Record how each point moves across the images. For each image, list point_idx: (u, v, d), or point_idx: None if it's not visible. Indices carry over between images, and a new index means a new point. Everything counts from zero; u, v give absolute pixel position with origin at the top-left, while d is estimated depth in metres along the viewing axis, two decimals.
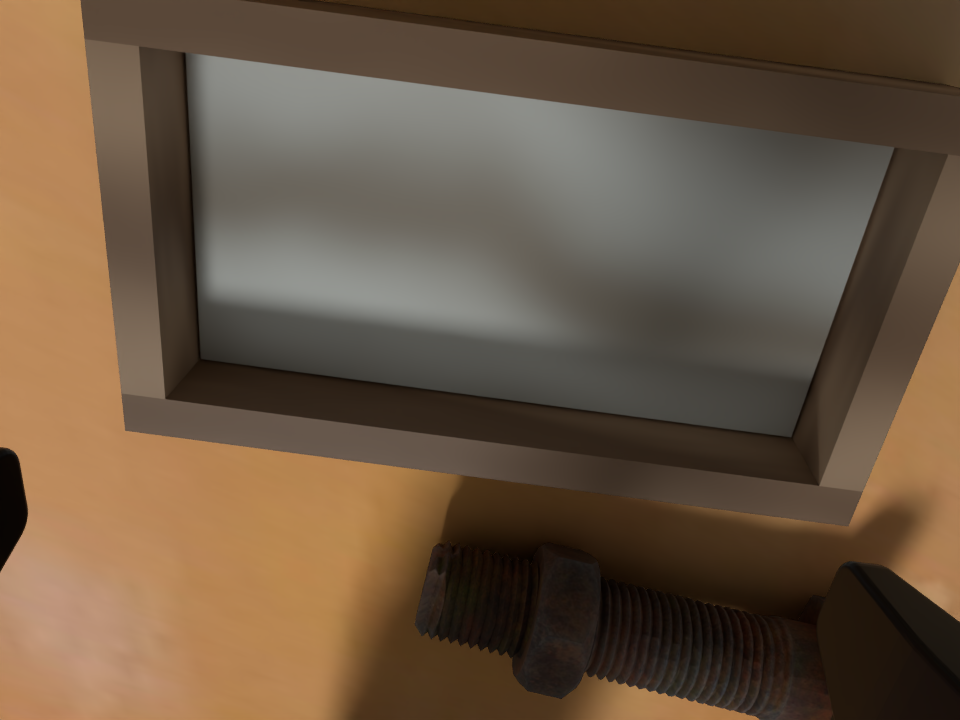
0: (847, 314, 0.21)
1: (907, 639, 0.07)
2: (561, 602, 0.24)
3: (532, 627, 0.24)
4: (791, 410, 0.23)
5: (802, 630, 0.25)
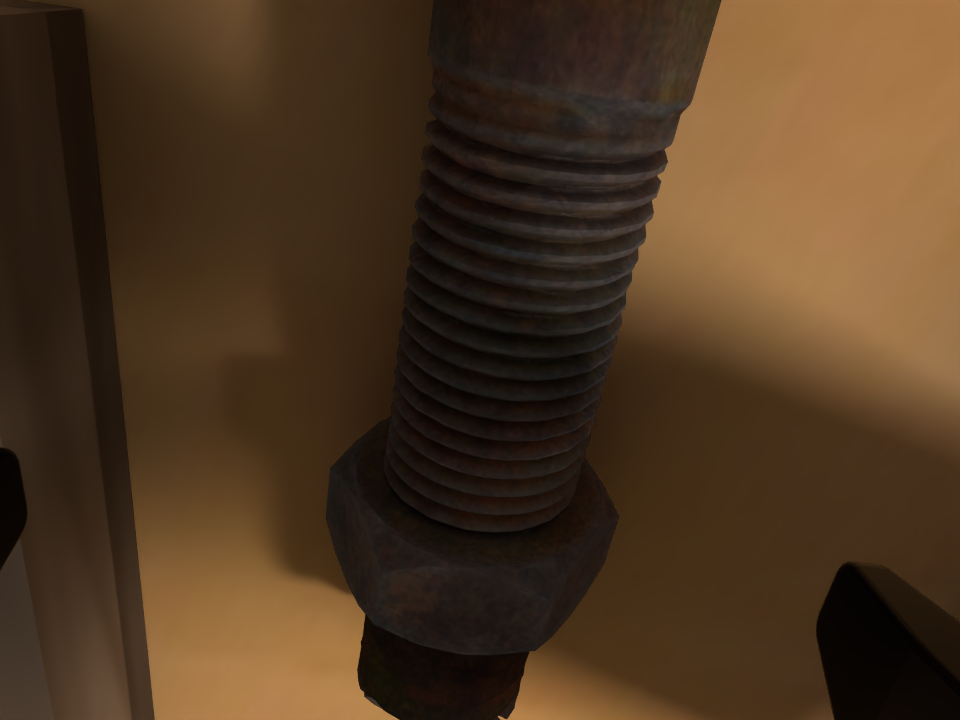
0: None
1: (907, 639, 0.07)
2: (352, 561, 0.12)
3: None
4: None
5: None
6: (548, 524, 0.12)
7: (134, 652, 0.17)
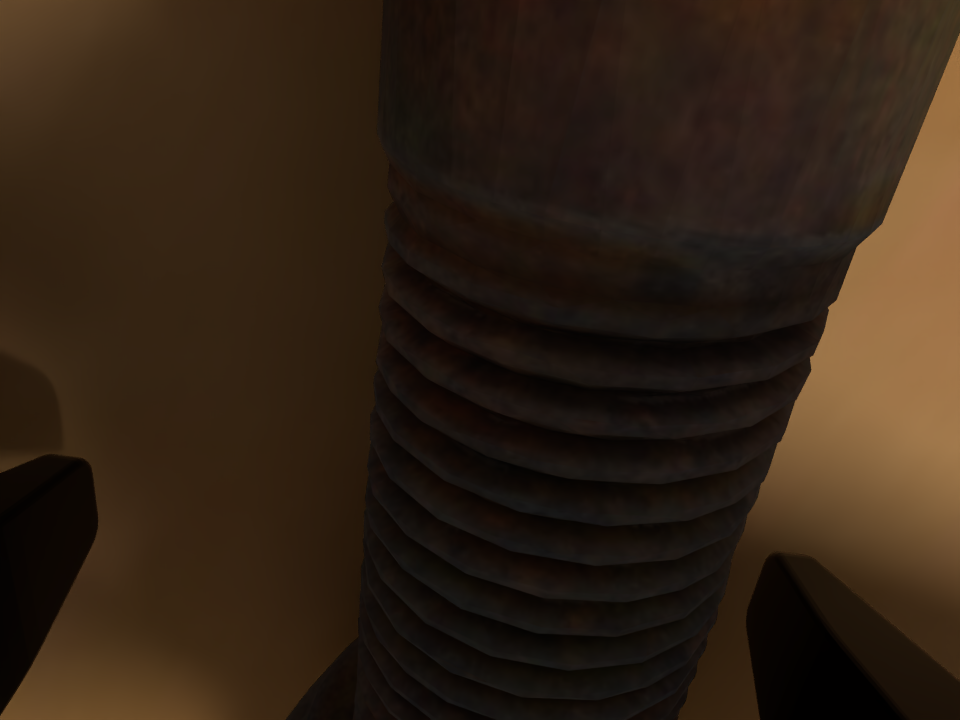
0: None
1: (820, 627, 0.07)
2: None
3: None
4: None
5: None
6: None
7: None
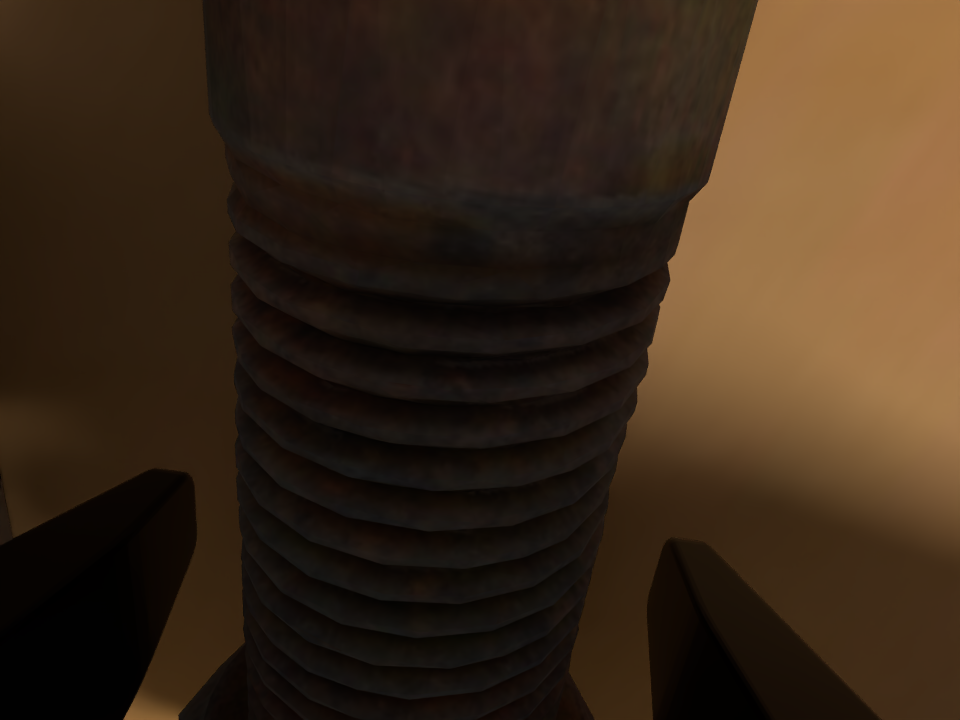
0: None
1: (697, 611, 0.07)
2: None
3: None
4: None
5: None
6: None
7: None
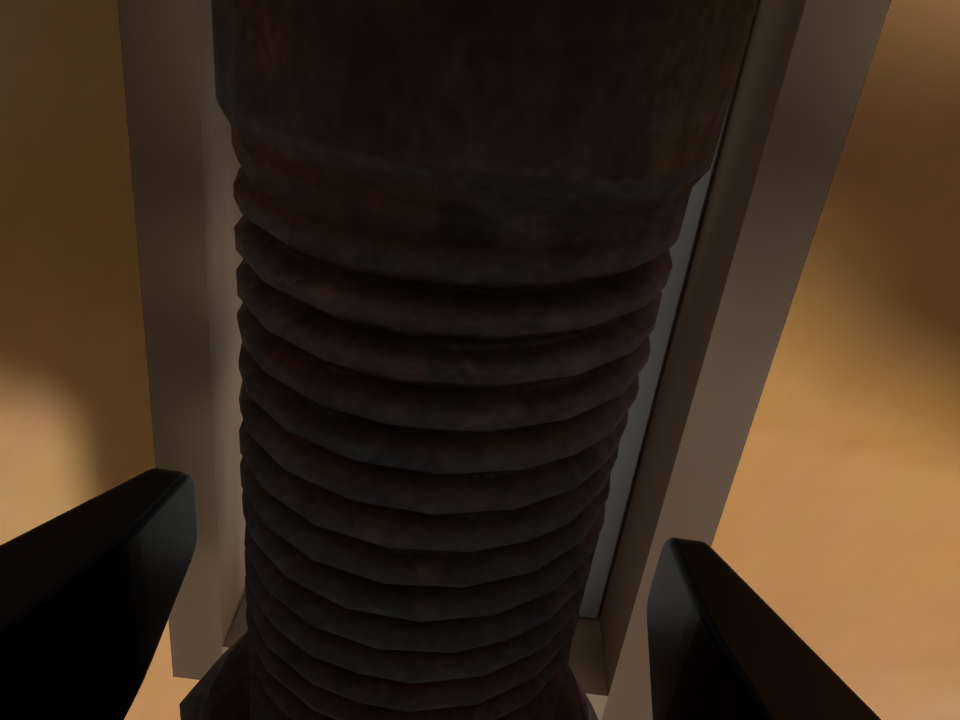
0: None
1: (696, 611, 0.07)
2: None
3: None
4: None
5: None
6: None
7: None
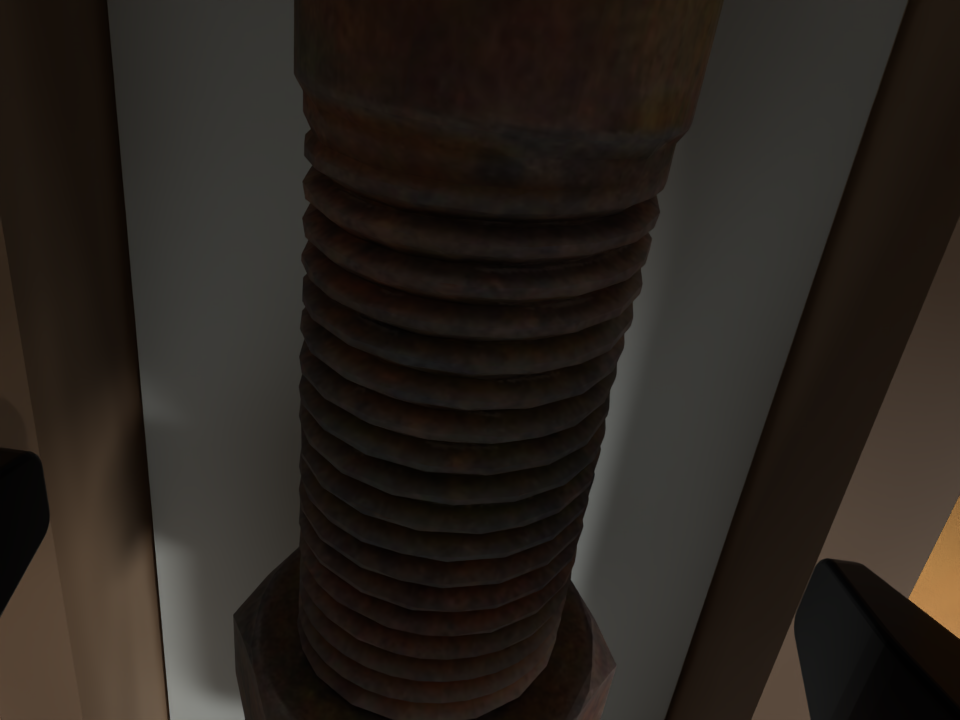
0: None
1: (879, 635, 0.07)
2: None
3: None
4: None
5: None
6: (518, 697, 0.09)
7: None
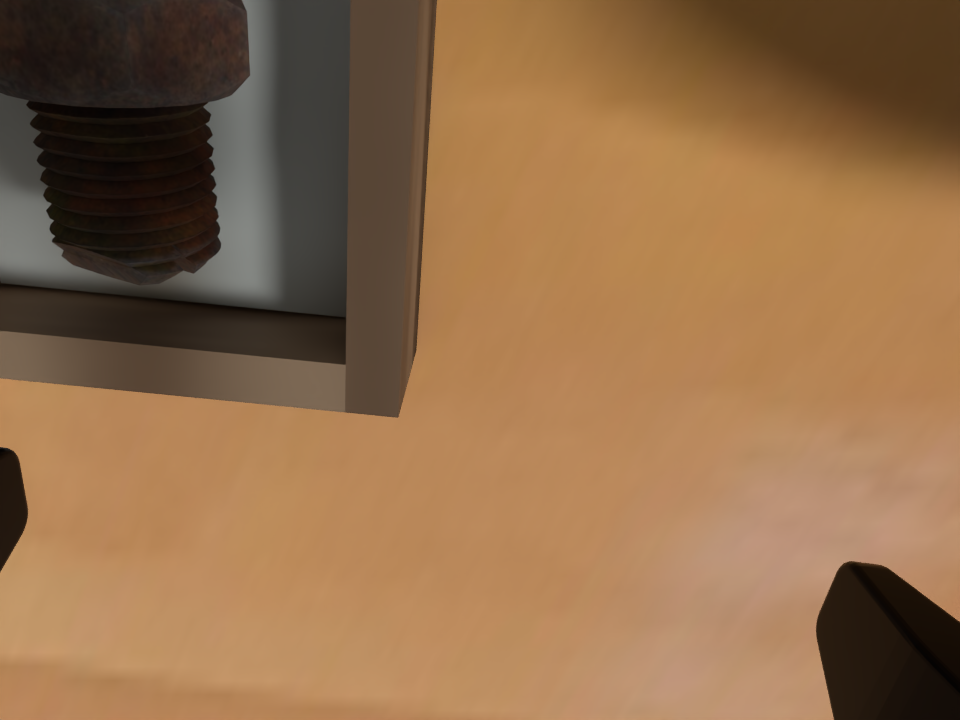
0: None
1: (907, 639, 0.07)
2: None
3: None
4: None
5: None
6: None
7: (430, 63, 0.17)
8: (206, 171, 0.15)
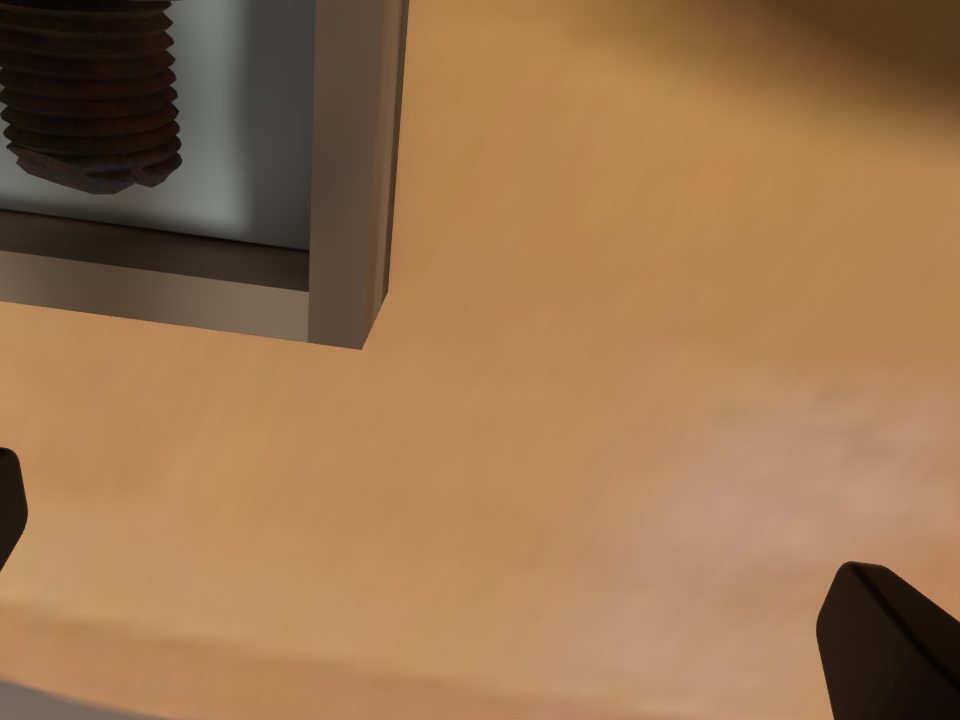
0: None
1: (907, 639, 0.07)
2: None
3: None
4: None
5: None
6: None
7: None
8: (166, 80, 0.15)
